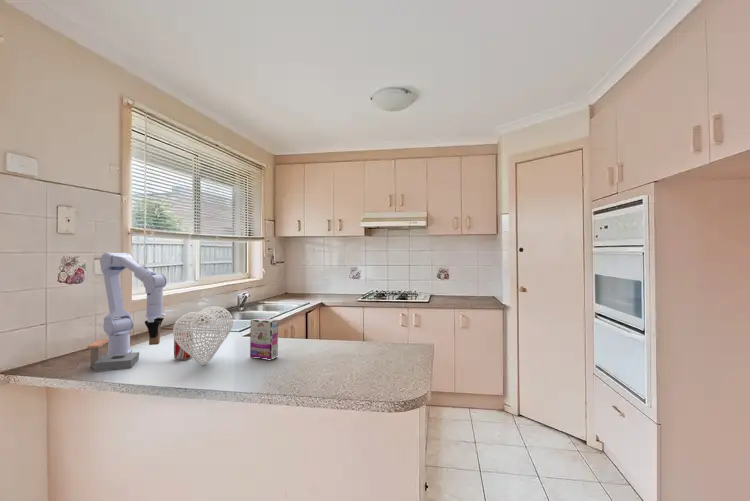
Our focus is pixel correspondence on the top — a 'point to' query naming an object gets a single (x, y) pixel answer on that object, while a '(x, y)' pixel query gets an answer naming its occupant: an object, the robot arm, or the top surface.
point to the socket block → (110, 358)
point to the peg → (155, 340)
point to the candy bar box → (264, 338)
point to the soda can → (178, 351)
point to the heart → (217, 332)
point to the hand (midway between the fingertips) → (154, 336)
